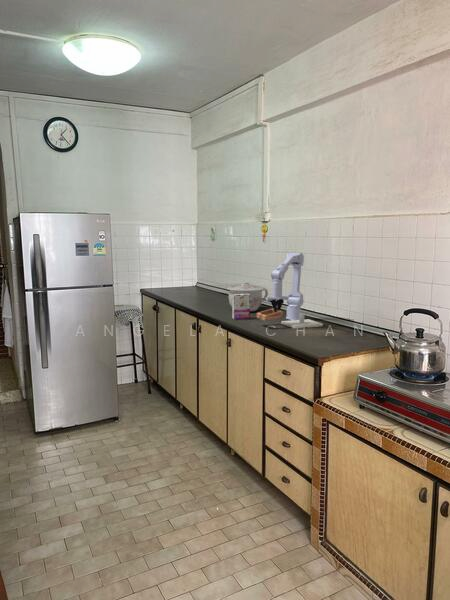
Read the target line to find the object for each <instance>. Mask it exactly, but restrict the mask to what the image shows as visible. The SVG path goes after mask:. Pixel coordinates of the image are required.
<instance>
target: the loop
mask: <svg viewBox="0 0 450 600" xmlns="http://www.w3.org/2000/svg"><path fill="white" fill-rule="evenodd" d="M281 317H284V311H283V310H282V309H280V310H278V309H277V311H276V312H274V310H273V307H272V308H269V309H265V310H262V311H259V312H256V319H259V320H261V321H264V322H268V321H272V320H275V319H279V318H281Z"/></svg>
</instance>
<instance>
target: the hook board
mask: <svg viewBox="0 0 450 600" xmlns="http://www.w3.org/2000/svg"><path fill="white" fill-rule="evenodd" d="M280 324H281V325H284V326H286V327H290V328H292V329H305V328H306V327H307V328H315V327H316V328H317V327H323V325H324V323H321V322H318V321H315V320H313V319H309V318H307V319H305V314H303V313H300V319H299V320H281V322H280Z"/></svg>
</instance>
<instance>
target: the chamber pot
mask: <svg viewBox="0 0 450 600" xmlns="http://www.w3.org/2000/svg"><path fill="white" fill-rule="evenodd" d="M226 289H227V290H229V293H228V302H229V305H230V307H231V308H232V294H250V313H253V312H256V311H258V309H259V308H260V307H261V305H262V303H263V302H264V301H266V297H268V295H269V292H268V290H267V288H266V287H263V286H258V285H250V283H249V282H243V283H242V284H238V285H237V284H236V285H230V286H228V287H227V288H226ZM263 291H264V292H265V293H264V296H263V293H262V292H263Z"/></svg>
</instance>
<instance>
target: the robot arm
mask: <svg viewBox="0 0 450 600" xmlns="http://www.w3.org/2000/svg"><path fill="white" fill-rule="evenodd" d="M304 259H305V256H304V254H303V252H287V253H286V258H285V260H284V261H283V262H281V263H280V264H279V265H278V266H277V268H276V269H273V270H271V275H270V277H271V283H272V296H269V297H268V296H267V297H266V299H265V301H267V302H268V301H270V303H271V306H272V308H273V310H274V312H276V311H277V309H278V310H282V306H283V304H284V302H285V301H286V304H287V308H286V317H285V319H287V320H288V321H291V320H299V319H300V314H301V307H302V306H303V304H304V294H303V293H302V292H301V291H300V289H301V288H300V286H301V275H302V274H301V273H302V267H303V266H304V262H305V260H304ZM289 266H292V269H293V270H292V282H291V283H292V284H291V291H290V292H288V293H287V295H284V296H283V280H284V278H285V275H286V273H287V272H288V270H289Z"/></svg>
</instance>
